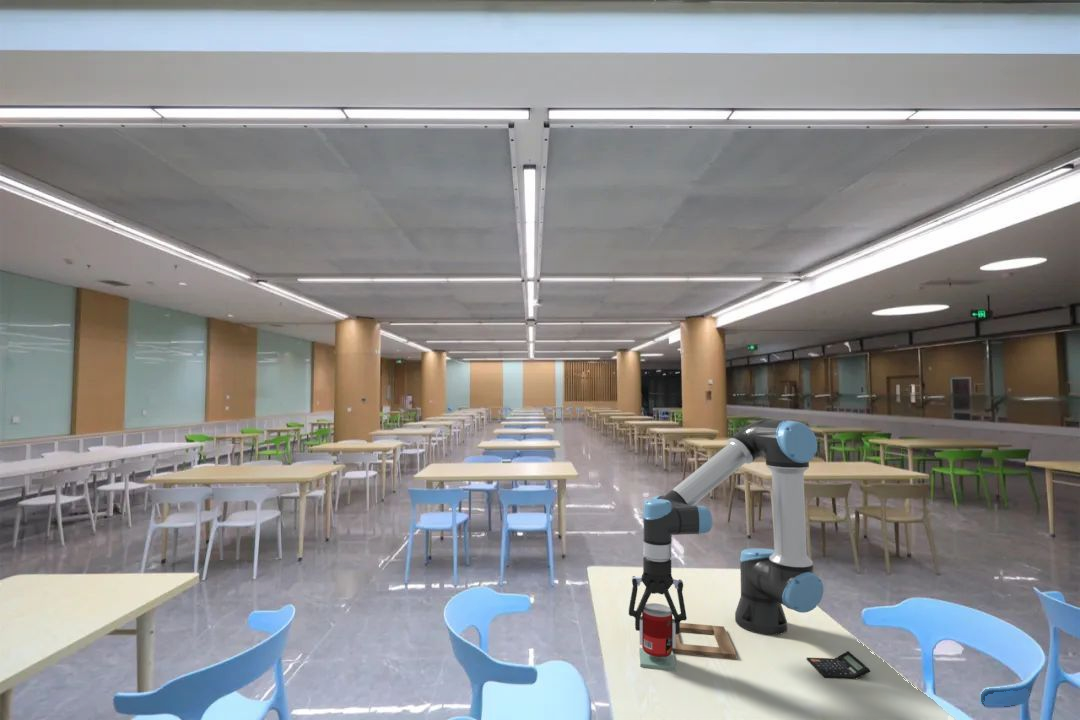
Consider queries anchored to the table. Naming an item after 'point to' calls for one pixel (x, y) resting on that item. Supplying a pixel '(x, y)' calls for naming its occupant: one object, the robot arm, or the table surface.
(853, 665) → the calculator
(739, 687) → the table surface
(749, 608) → the robot arm
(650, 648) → the canned food
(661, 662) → the plate
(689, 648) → the pocket board
